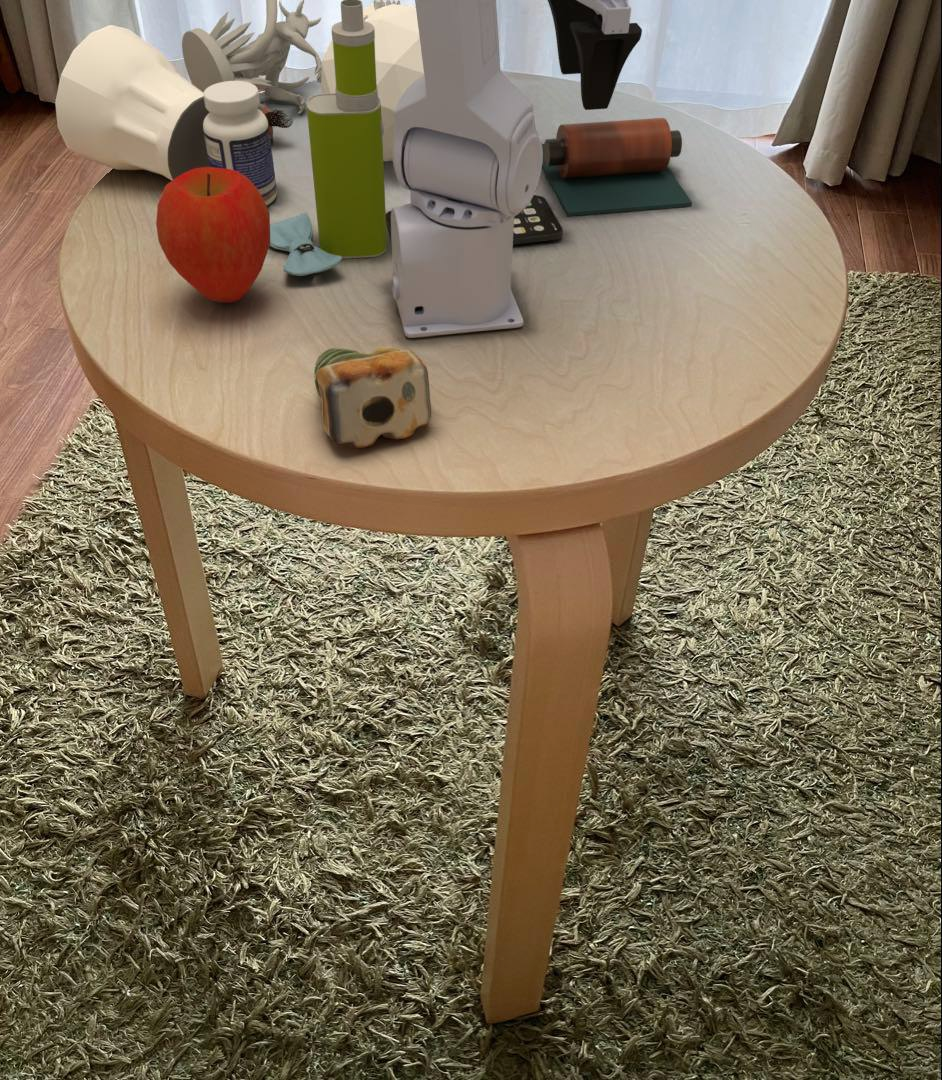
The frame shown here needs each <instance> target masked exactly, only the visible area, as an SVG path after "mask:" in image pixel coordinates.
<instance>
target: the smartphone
mask: <svg viewBox="0 0 942 1080" xmlns="http://www.w3.org/2000/svg"><path fill="white" fill-rule="evenodd" d="M386 228H387V229H388V232H389V235H390V236H391V210H389V211H387V212H386ZM563 233H564V228H563V227H562V225H561V223H560V221H559V220H558V218H557V216H556V215H555V212H554V211H553V209H552V208H551V206H550V204H549V202H548V200H547V199H546V198H545V197H544V196H542V195H538V194H537V195H536V194H534V195H533V197H532V199H531V201H530V203H529V204H528V205H527V207H526V208H524V209H523V210H522V211H521V212H520V213H519V214H517V215H516V216H514V230H513V245H521V244H530V243H537V242H538V243H539V242H547V241H554V240H559V239H561V238H562V237H563Z"/></svg>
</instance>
